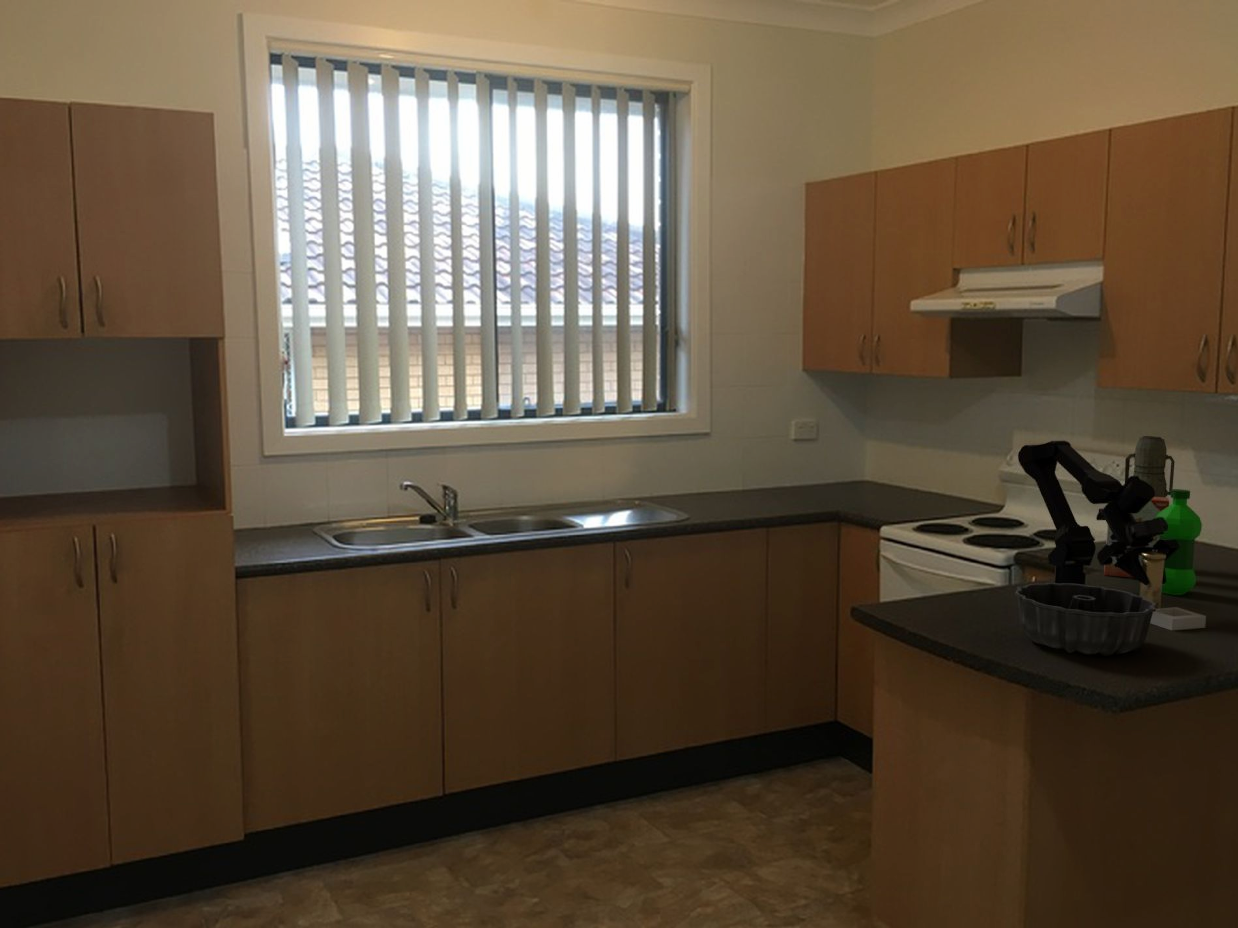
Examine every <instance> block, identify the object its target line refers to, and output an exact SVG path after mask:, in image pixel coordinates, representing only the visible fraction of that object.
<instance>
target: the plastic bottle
mask: <svg viewBox="0 0 1238 928" xmlns="http://www.w3.org/2000/svg"><path fill="white" fill-rule="evenodd" d="M1170 498H1171V499H1172V503H1170V504H1169V506H1168V507H1167V508H1165V509H1164V510H1162V511H1161V512H1160V513H1158V514H1157V516H1156V518H1157V517H1163V518H1164V519H1165V520H1166V522H1167V524H1168V530H1167V531H1164V532H1165V533H1164V534H1162V535H1161V534H1160V535H1159V536H1160V539H1176V541H1177V542H1178V544H1179V546H1180V548H1179V549H1178V550H1177V551H1176V552H1175V553H1174V554H1173V555H1172V556H1171V557H1170V558H1168V559H1167V560H1166V561H1164V567H1165V574H1166V583H1165V584H1162V593H1163V594H1167V595H1172V596H1182V595H1185V594H1186V593H1188V592H1189V591H1191V590H1192V589H1193V588H1194V587H1195V585H1196V583H1197V577H1196V576H1197V575H1196V573H1195V570H1194V568H1193V567H1194V553H1195V552H1194V551H1195V539H1197V538H1198V537H1199V536H1200V535H1201V533H1202V530H1203V529H1202V527H1203V523H1202V520H1201V518H1200V516H1199V515H1198V514H1197V513H1196V512H1195V511H1194V510H1193V509H1192V507H1190V506H1189V505H1188V500H1190V499H1191V490H1189V489H1181V488H1176V489H1175V488H1173V489H1171V495H1170Z"/></svg>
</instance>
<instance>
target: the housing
mask: <svg viewBox="0 0 1238 928" xmlns="http://www.w3.org/2000/svg"><path fill="white" fill-rule="evenodd" d="M1206 621H1207V616H1206V615H1204V614H1201V613H1197V612H1193V611H1190V610H1188V609H1183V608H1181V607H1175V606H1173V607H1163V608H1161V607H1160V609H1156V611H1155V612H1153V614H1152V618H1151V621H1150V624H1152V625H1154V626H1157V627H1161V628H1163V629H1166V630H1168V631H1169V630H1170V631H1181V630H1192V629H1194V630H1195V629H1201V628H1202V629H1205V628H1206Z"/></svg>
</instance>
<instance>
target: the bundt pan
mask: <svg viewBox="0 0 1238 928" xmlns="http://www.w3.org/2000/svg"><path fill="white" fill-rule="evenodd" d="M1014 595H1015V596H1016V597H1017V605H1018V613H1019V623H1020V626H1021V629H1022V630H1023V632H1024V633H1025V634H1026V635H1027V636H1029V638H1030V639H1031V640H1032V641H1033V642H1034V643H1037V644H1039V645H1042V646H1047V647H1049V648H1051V649H1054V650H1061V649H1064V650H1065V651H1066V652H1067V653H1068V654H1072V653H1074V652H1076V651H1077V652H1079V653H1082V654H1084V655H1095V654H1099V655H1100V656H1103V657H1109V656H1111V655H1114V654H1115V655H1122V654H1125V653H1128V652H1133V651H1135V650H1137V649H1139V648H1141V646H1142V645H1143V644H1144V643H1145V640H1146V639H1147V636H1148V631H1149V629H1150V624H1151V623H1150V621H1151V618H1152V614H1153V612H1155V611H1156V608H1155V605H1156V604H1155V603H1154V602H1152V601H1150V600H1147V599H1145V597H1142V596H1140V595H1136V594H1134V593H1131V592H1129V591H1126V590H1120V589H1114V588H1107V587H1105V586H1104V587H1103V586H1097V585H1095V586H1094V585H1088V584H1085V585H1081V584H1067V583H1064V584H1057V583H1055V582H1046V583H1029V584H1027V585H1024V586H1018V587H1017V588H1016V591H1015V593H1014Z"/></svg>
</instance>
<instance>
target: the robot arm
mask: <svg viewBox="0 0 1238 928" xmlns="http://www.w3.org/2000/svg"><path fill="white" fill-rule="evenodd" d="M1017 459H1018V462H1019V465H1020V466H1021V467H1022V470H1023V472H1024V473H1025V474H1027V475H1028V476H1029V477H1031V478H1032V479H1033V480H1034V481H1035V483H1036V485H1037V488H1038V490H1039V492H1040V495H1041V496H1042V500H1043V501H1044V504H1045V507H1046V508H1047V510H1048V513H1049V516H1050V518H1051V520H1052V523H1053V525H1054V528H1055V530H1056V532H1055V537H1054V544H1055V547H1054V548H1053V549H1052V550H1051V551H1050V552H1049V554H1047V558H1048V564H1049V565H1052V566H1054V567H1055V569H1054V570H1055V571H1054V583H1057V584H1064V583H1067V584H1081V585H1086V577H1087V576H1086V571H1085V570H1084V566H1085V567H1087V566H1088V567H1089V566H1091V564H1092V561H1093V558H1094V555H1095V553H1096V550H1097V549H1096V547H1097V546H1096V544H1095V543H1096V542H1095V541H1096V539H1095V538H1094V537H1093V536H1094V535H1092V531H1091V529H1090V527H1089V526H1088V525H1081V524H1079V523H1078V521H1077V520H1076V518H1075V516H1074V513H1073V511H1072V509H1071V506H1070V504H1069V502H1068V500H1067V497H1066V496H1065V495H1066V494H1065V493H1064V491H1063V487H1062V486H1061V484H1060V481H1059V478H1058V477H1057V474H1056V469H1057V465H1058V464H1059V465H1060V466H1061V467H1062V468H1063V469H1065V471H1066V472H1068V474H1070V475H1071V476H1072V477H1073V479H1075V480H1076V481H1077V482H1078V483H1079V484H1080V487H1081V493H1082V494H1083V495H1084V496H1085V498H1086V499H1087V500H1088V502H1089V503H1091V504H1093V505H1105V506H1104V507H1103V508H1099V509H1098V513H1097V514H1096V518H1095V519H1096V521H1105V522H1106V524H1107V526H1109V528H1110V529H1111V531H1112V533H1113V534H1112V535H1111V536H1110V538H1111V539H1112V540H1117V542H1108V543H1107V544H1106V543H1105V545H1104V546H1103V547H1102V548H1101V549H1100V550H1099V551H1098V552H1097V556H1096V557H1097V560H1098V562H1099V565H1100V566H1104V565H1111V564H1112V561H1113V559H1112V558H1111V557H1116V560H1117V562H1116V563H1115V564H1114V566H1115V567H1118V568H1120V569H1122V570H1123V571H1125V572H1126V573H1128V574H1130V575H1131V576H1133V577H1134V578H1133V579H1136V580H1137V581H1138V582H1140V583H1143V584H1144V585H1148V584H1149V580H1148V578H1147V575H1146V574H1145V572H1144V570H1143V568H1142V566H1141V564H1140V562H1139V555H1141V552H1146V551H1149V552H1159V553H1164V554H1166V559H1164V561H1166V560H1167V559H1168V558H1170V557H1171V556H1172V555H1173V554H1174V553H1175V552H1176V551H1177V550H1178V549H1179V548H1180V546H1179V544H1178V542H1177V541H1176V539H1159V540H1158V541H1157V542H1156V543H1155V544H1154V545H1151V546H1149V544H1148V543H1149V542H1152V541H1153V540H1154V538H1153V537H1154V536H1157V535H1160V534H1161V535H1162V534H1164V533H1165V532H1164V531H1167V530H1168V524H1167V522H1166V520H1165V519H1164V518H1163V517H1157V518H1156V519H1153V520H1146V521H1143V522H1136V520H1135V518H1134V516H1133V515H1132V513H1134V514H1135V513H1138V512H1140V511H1141V510H1142V509H1143V508H1144V507H1145V506H1146V505H1147V504H1148V503H1149V502H1150V501H1151V500H1152V499H1153V498H1154V496H1155V491H1154V489H1153V487H1152V486H1150V485H1149V484H1148V483H1147V482H1145V481H1143V480H1140V478H1139V477H1138V476H1133V475H1131V476H1130V475H1129V479H1128V480H1127V482H1126V483H1125V482H1124V484H1122V483H1121V481H1119V479H1117V478H1115V477H1113V476H1112V475H1110V474H1108V473H1104V472H1103V471H1102V472H1101V471H1099V470H1098V469H1097V468H1095V466H1093V465H1092V464H1091V463H1090V462H1089V461H1087V460H1086V459H1085V457H1083V456H1082V455H1081V454H1080V453H1079V452H1078V451H1076V449H1075V448H1073V446H1072V445H1071V443H1070V442H1069V441H1067V440H1050V441H1048V442H1045V443H1040V444H1024V445H1023V446H1021V448H1020V450H1019V451H1018V454H1017ZM1165 583H1166V574H1165V567H1164V569H1163V582H1162V584H1165Z"/></svg>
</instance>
